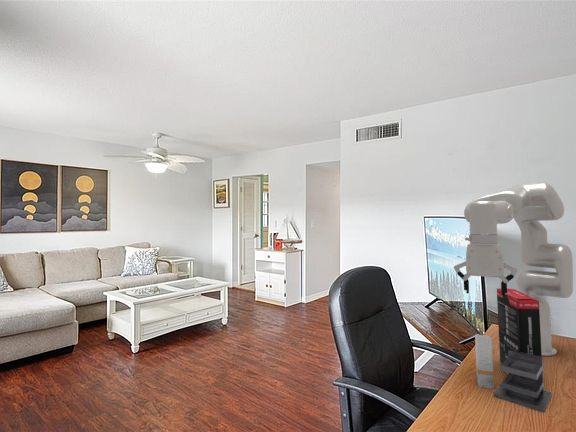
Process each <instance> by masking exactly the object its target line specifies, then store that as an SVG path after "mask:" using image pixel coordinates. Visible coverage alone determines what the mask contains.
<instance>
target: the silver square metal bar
mask: <svg viewBox="0 0 576 432" xmlns="http://www.w3.org/2000/svg"><path fill="white" fill-rule="evenodd" d="M474 338H475V339H474V340H475V341H474V342H475V343H474V344H475V370H476V371H475V373H476V378H475V379H476V383H477V385H478V387H479V388H485V389H486V388H487V389H494V368H493V365H494V364H493V363H494V361H493V360H494V359H493V340H492V338H491V336H490V335H486V334H485V335H484V334H475V335H474Z"/></svg>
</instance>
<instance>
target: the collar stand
mask: <svg viewBox="0 0 576 432" xmlns="http://www.w3.org/2000/svg"><path fill="white" fill-rule="evenodd" d="M500 372H505V373H507V375H506V376H505V377H504V379H503V380H502V381H501V382H500V384H499V385H498V387H497V388H496V389H495V391H493V397H494V398H498V399H500V400H504V401H507V402H510V403H513V404H516V405H520V406H522V407H526V408H529V409H532V410H536V411H539V412H542V413H545V411H546V410H547V407H548V405H549V403H550V401H551V398H552V397H553V394H552V391H548V390H545V378H544V377H545V376H544V375H545V373H544V356H542V357H540V356H536V355H531V354H527V353H522V352H518V351H513V350H508V358H507V359H506V360H505V361H504V363H503V364H502V363H501V365H500Z"/></svg>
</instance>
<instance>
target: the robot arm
mask: <svg viewBox="0 0 576 432" xmlns="http://www.w3.org/2000/svg"><path fill="white" fill-rule="evenodd" d="M463 215H464V216H463V217H464V219H465V220H466V221H467V222H468V223H469V235H467V236H466V235H464V240H465V241H468V242H469V243H467V246H466V251H465V252H466V253H465V260H464V261H463V262H461V263H458V264H456V265H453V269H454V271H455V272H456V274H457V275H458V276H459V277H460V279H462V281H463V291H465V292H466V294H470V284H469V283H470V280H469V278H470V277H471V276H473V277H484V278H485V277H488V278H499V279H500V280H501V282H500V288H501V295H502V296H505V293H507V289H508V283H509V282H510V281H512V280H513V279H514V278H515V275H516V274H517V272H518V269H517V268H515V267H513V266H511V265H510V264H507V263H505V262H504V258H503V257H504V256H503V255H504V254H503V249H502V246H501V244H500V243H498V225H502V224H507V223H510V222H511V221H512V220H514V221H515V222H516V224H517V226H518V228H519V230H520V239H521V240H520V243H521V244H520V245H521V246H520V247H521V249H520V251H521V252H520V253H521V260H522V263H523V264H524V265H525V266H527V267H534V268H545V269H547V268H548V269H554V270H555V271H546V270H538V269H537V270H536V269H524V270H521V271H519V272H518V274H517V275H516V283H517V284H516V285H517V288H518V291H519V292H521V293H523V294H525V295H528V296H530V297H532V298H534V299H536V300H539V312H540V332H541V352H542V357H545V356H546V357H550V356H551V357H552V356H555V355H557V352H558V351H557V349H556V348H555V347H553V346H552V329H551V328H552V325H551V307H550V304H549V302H547V299H545V298H544V296H545V297H553V298H561V299H568V298H570V297H571V296H572V295H573V291H574V266H573V265H574V263H573V262H574V260H573V253H572V251H571V248H570V247H569V246H568V245H566V244H562V243H549V242H548V230H547V229H546V227H545V226H544V225H543V224H542V223H541V222H540V221H542V222H543V221H546V222H547V221H549V222H550V221H558V220H560V219H562V218H563V217H564V215H565V204H564V203H563V200H562V199H561V197H560V195H559V194H558V192H557V191H556V189H555V188H554V187H553V186H552V185H551V184H550V183H547V182H544V181H543V182H531V183H522V184H520V183H519V184H515V185H513V186H511V187H509V188H507V189H506V190H504V191H502V192H498V193H497V192H496V193H493V194H490V195H486V196H482V197H479V198H475V199H474V200H472V201H470V202H468V203H467V204H466V206H465V207H464V212H463ZM464 267H465V271H466V273H465V274H464V273H463V272H462V271H461V268H464ZM505 269H507V270H509V271H510V272H509V274H507V276H505V275H504V272H505V271H504V270H505Z"/></svg>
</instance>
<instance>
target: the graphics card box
mask: <svg viewBox="0 0 576 432" xmlns="http://www.w3.org/2000/svg"><path fill="white" fill-rule="evenodd" d="M496 303H497V323H498V324H497V325H498V341H499V342H498V345H499V362H500V363H501V365H502V364H503V363H504V361H505V360H506V359H507V358H508V350H513V351H518V352H522V353H527V354H531V355H536V356H540V357H543V355H542V352H541V332H540V312H539V300H536V299H534V298H532V297H530V296H528V295H525V294H523V293H521V292H519V290H517V289H513V288H507V293H505V296H502V295H501V287H500V288H496Z"/></svg>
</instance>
